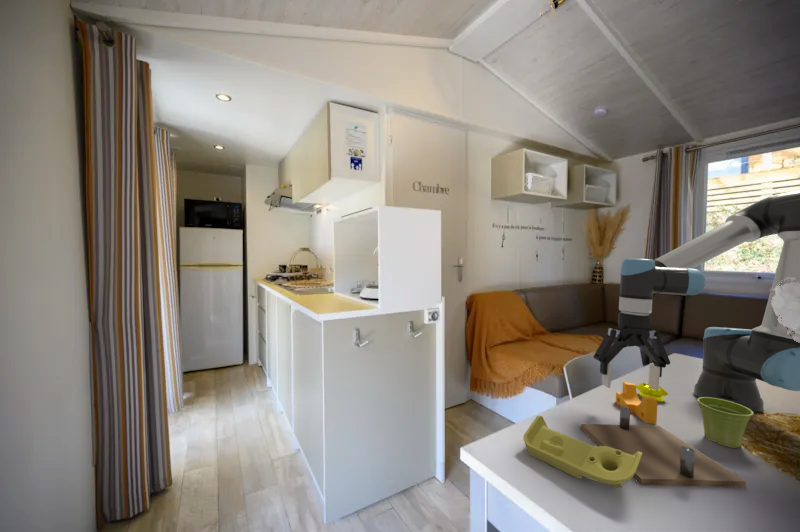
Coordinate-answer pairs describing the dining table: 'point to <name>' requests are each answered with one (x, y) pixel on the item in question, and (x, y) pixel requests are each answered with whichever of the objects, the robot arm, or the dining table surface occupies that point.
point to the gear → (651, 392)
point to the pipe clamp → (637, 403)
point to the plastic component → (580, 455)
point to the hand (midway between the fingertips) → (629, 387)
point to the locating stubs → (686, 452)
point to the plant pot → (724, 420)
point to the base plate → (661, 456)
